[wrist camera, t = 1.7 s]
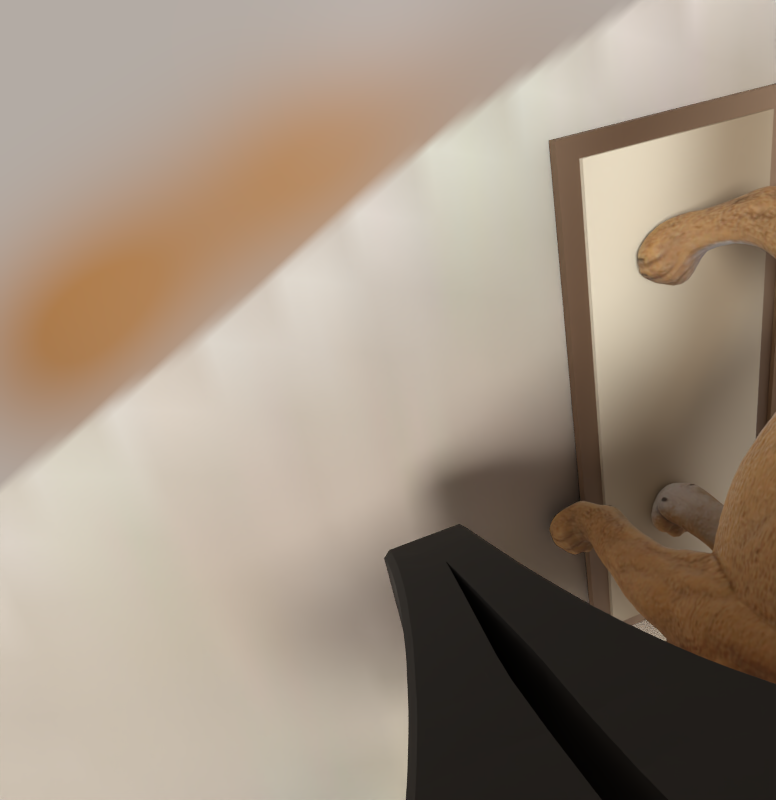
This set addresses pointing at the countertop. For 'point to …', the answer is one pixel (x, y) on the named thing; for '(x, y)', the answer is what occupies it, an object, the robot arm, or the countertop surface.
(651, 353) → the brown framed panel
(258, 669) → the countertop surface
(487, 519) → the countertop surface
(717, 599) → the lion figurine
